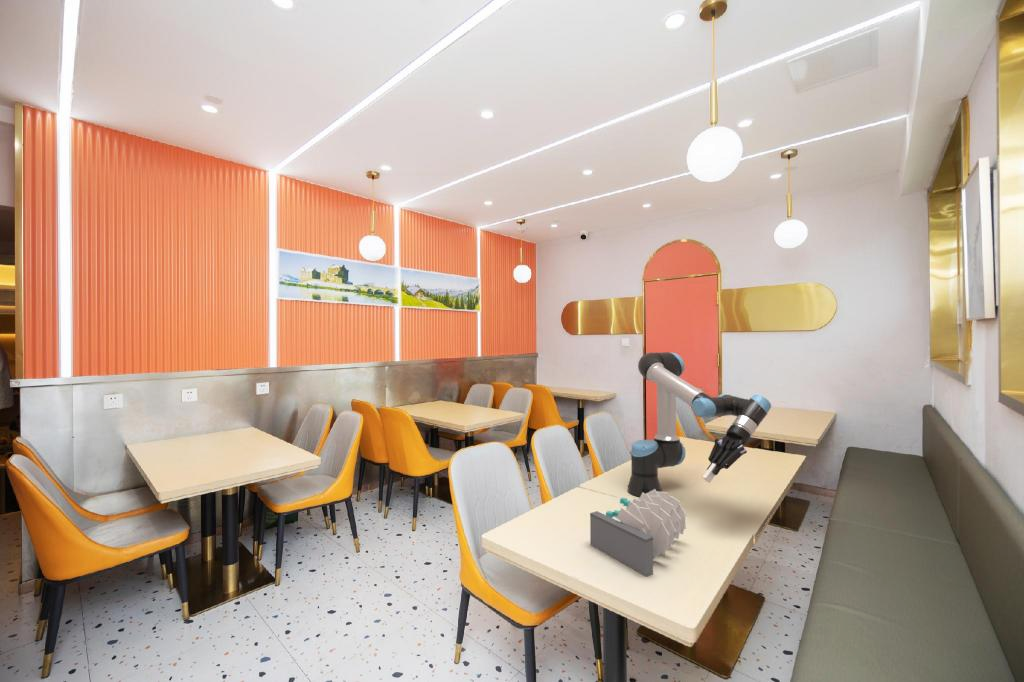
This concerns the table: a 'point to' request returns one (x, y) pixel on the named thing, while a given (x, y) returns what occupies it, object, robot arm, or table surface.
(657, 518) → the spiral staircase
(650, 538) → the slate board
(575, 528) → the table surface
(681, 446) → the robot arm
